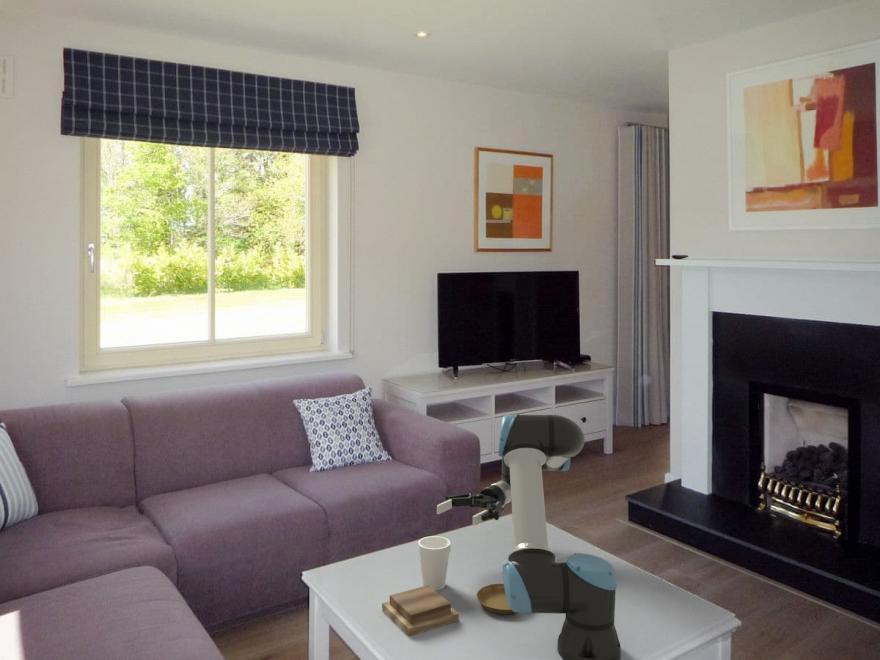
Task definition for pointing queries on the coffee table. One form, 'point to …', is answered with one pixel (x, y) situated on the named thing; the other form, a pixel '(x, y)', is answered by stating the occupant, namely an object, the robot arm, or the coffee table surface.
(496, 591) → the plant saucer
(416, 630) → the plinth
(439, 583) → the foam cup
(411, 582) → the coffee table surface
